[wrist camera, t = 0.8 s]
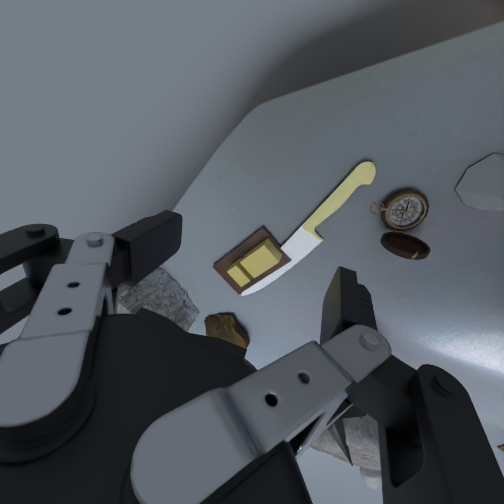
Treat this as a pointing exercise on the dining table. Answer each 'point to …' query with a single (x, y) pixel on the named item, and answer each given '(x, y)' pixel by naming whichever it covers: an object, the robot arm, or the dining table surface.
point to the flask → (484, 184)
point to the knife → (317, 223)
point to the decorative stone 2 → (354, 442)
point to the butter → (261, 258)
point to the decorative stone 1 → (226, 329)
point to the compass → (404, 223)
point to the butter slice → (239, 273)
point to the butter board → (243, 249)
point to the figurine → (371, 478)
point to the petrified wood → (158, 299)
